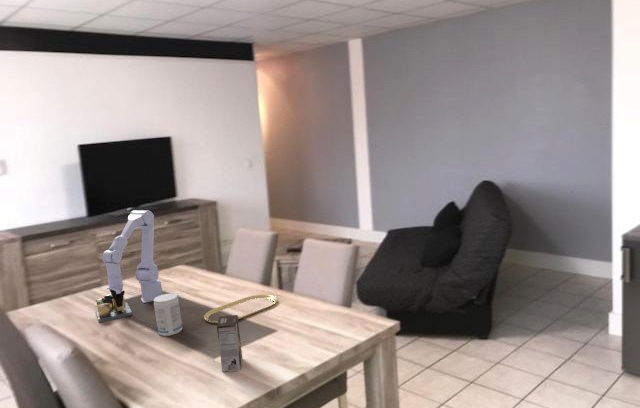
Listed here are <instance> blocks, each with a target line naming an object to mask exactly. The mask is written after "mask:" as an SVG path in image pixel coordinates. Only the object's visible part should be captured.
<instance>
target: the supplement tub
mask: <svg viewBox="0 0 640 408" xmlns="http://www.w3.org/2000/svg"><path fill="white" fill-rule="evenodd" d="M153 307H154V314H155V320H156V327H157V332H158V334H159V335H160V336H163V337H169V336H174V335H176V334H179V333H180V332H182V330H183V322H182V315H181V308H180V303H179V297H178V294H176V293H163V295H160V296H157V297H156V298H154V301H153Z"/></svg>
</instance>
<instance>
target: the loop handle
mask: <svg viewBox="0 0 640 408" xmlns="http://www.w3.org/2000/svg"><path fill="white" fill-rule="evenodd" d="M255 298H256V299H255ZM257 298H267V299H266V300H270V299H271V301H272V300H273V301H274V304H273V303H272V304H271V305H268V306H265V307H263V308H260V309H258V310H255V311H253V312H250V313H248V314H245V315H242V316H239V317H238V321H240V320H242V319H244V318H248V317H250V316H252V315H255V314H258V313H259V312H262V310H263V311H265V310H267V309H271V308H272V307H273V306H274V305H276V303H277V302H278V299H277V297H276V296H273V295H269V294H259V295H258V294H256V295H250V296H246V297H244V298H243V297H242V298H240V299H238V300H235V301H232V302H229V303H227V304H224V305H222V306H219V307H216V308H213V309H211V310H209V311H207V312H205V314H204V315H203V319H204V320H205V321H206V322H208V323H210V324H214V323H215V324H216V325H218V321H212V320H209V317H210V316H211V314H212V315H213V314H215V313H218V312H221V311H223V310H227V309H229V308H231V307H234V305H235V306H237V305H240V304H242V303H245V302H247V301H246V300H248V301H251V300H250V299H252V300H258V299H257ZM244 301H245V302H244ZM273 301H272V302H273ZM239 303H240V304H239ZM236 304H237V305H236ZM257 312H258V313H257ZM239 319H240V320H239ZM208 320H209V321H208Z"/></svg>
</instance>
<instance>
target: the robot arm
mask: <svg viewBox="0 0 640 408" xmlns="http://www.w3.org/2000/svg"><path fill="white" fill-rule="evenodd" d="M154 222H155V215H154V214H153V212H152V211H151V210H149V209H146V210H136V209H135V210H131V211H130V213H129V215H128V217H127V222H126V223H125V225H124V228H123V230H122V232H121V233H120V234H119V235H118V236H116V237H114V239H113V242H111V245H110V246H109V247H108V249H106V250H105V251H104V252H103V254H102V257H101V260H102V262H103V263H104V266H105V268H106V274H107V279H108V280H107V281H108V286H106V290H109V292H110V293H111V295H112V296H113V298H114V299H115V302H116V305H117V307H122V305H123V296H125V293H126V290H123V287H124V283H123V277H122V276H123V275H122V271H121V270H122V269H121V264H120V261H122V258H123V251H124V250H125V248H126V247H127V245H128V244H129V241H128V239H129V237H130V236H131V235H132V233H133V232H134V231H135V230H136V228H138V227H139V228H140V229H141V230H142V231H141V258H140V261H141V262H139V264H137V266H136V271H135V279H136V280H137V281H138V283H139V284H140V289H141V290H140V291H141V298H140V300H141V302H142V303H143V304H145V303H150V302H154V298H156V297H157V296H160V295H164V293H163V287H162V283H161V280H160V279H158V278H159V271H158V265H157V264H155V263H154V244H155V243H154V242H155V224H154Z"/></svg>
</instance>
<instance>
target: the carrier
mask: <svg viewBox="0 0 640 408" xmlns="http://www.w3.org/2000/svg"><path fill="white" fill-rule="evenodd" d="M125 306H126V309H124V310H121V311H114V309H113V306H112V303H103V304H100V305H98V306H97V305H96V307H97V308H95V309H94V311H95V315H96V318H97V321H98V323H104V321H105V322H109V321H112V320H117V319H120V318H121V319H122V318H126V317H129V316H133V311H132V309H131V308H130V306H129V303H128V302H127V301H125ZM108 320H109V321H108Z"/></svg>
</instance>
